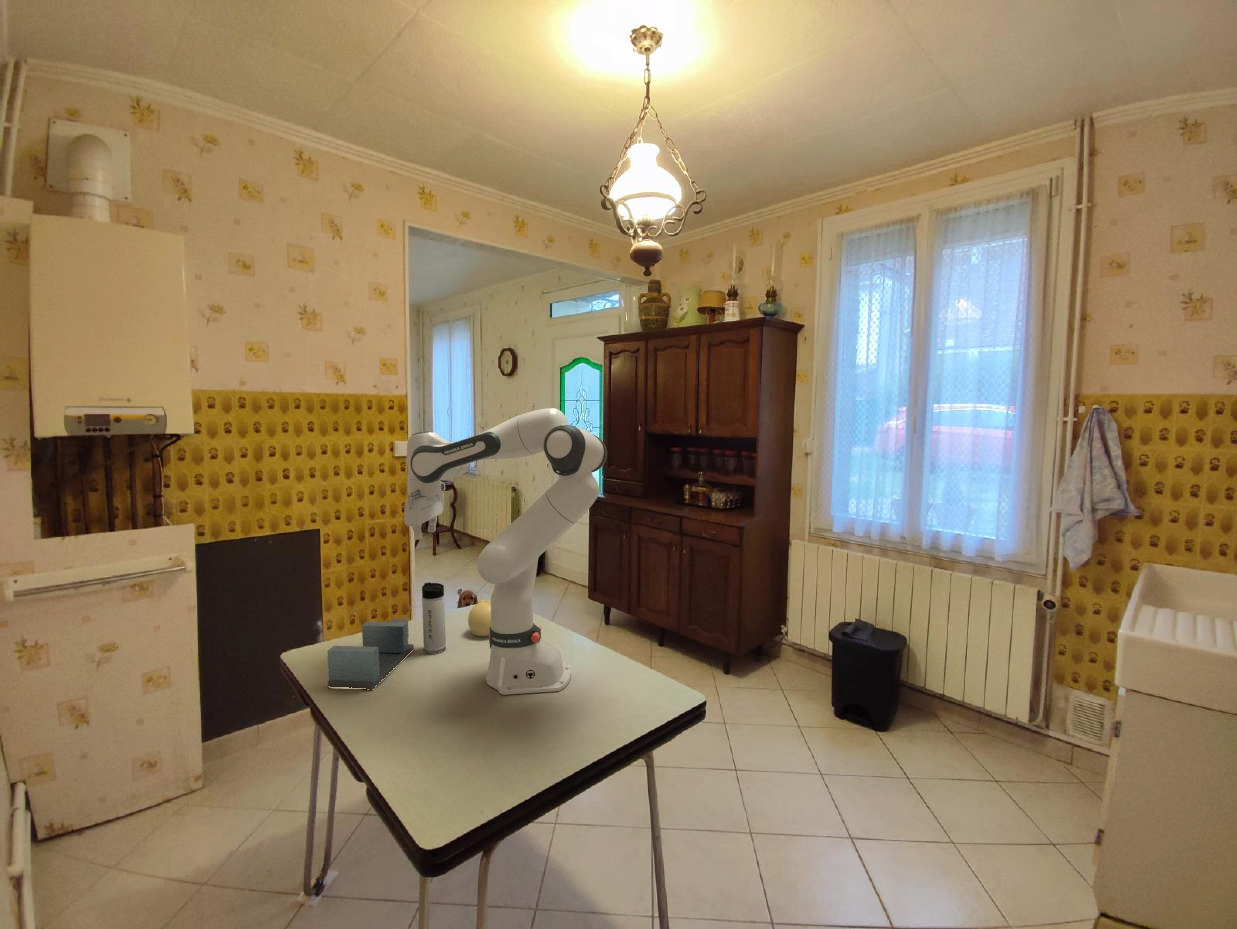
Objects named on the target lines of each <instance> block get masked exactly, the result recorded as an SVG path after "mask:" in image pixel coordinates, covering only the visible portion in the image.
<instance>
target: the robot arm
mask: <svg viewBox="0 0 1237 929" xmlns="http://www.w3.org/2000/svg"><path fill="white" fill-rule="evenodd" d="M541 452H543V453H544V454H545V456H546V458H547V460H548V461H549V463H550V465H551V470H552V471H553V472H554V474H556V475H558V479H557V480H556V481H555V482H554V484H553V485H551V486H550V487H549V488H548V489H547V490H546V491H545V492H544V493H543V494H542V495H541V496H540V497H539V498H538V499H537V500H535V501H534V503H532V504H531V505H530V507H529V508H527V509H526V511H524V512H523V513H522V514H521V515H519V516H518V517H517V518H516V519H514V520H513V521H512V522H511V523H510V524H509V525H508V526H507V527H505V529H502V531H501V532H500V533H499V534H498V535H496V536H495V537H494V538H493V539H492V540H491V541H490V542H488V544H486V546H485V547H484V548H483V549H482V551H480V553H479V555H478V557H477V561H476V568H477V571H478V574H479V575H480V577H481V578H482V579H483V580H484V581H485V582H487V583H489V584H492V585H494V587H493V591H492V594H491V596H490V599H491V601H490V602H491V627H490V631H489V636H488V644H489V648H490V656H489V663H488V664H489V665H488V670H487V673H486V676H485V682H486V683H487V685H488V686H489V687H490V688H493V689H495V690H497V691H498V693H499V694H500V695H503V696H504V695H516V694H517V695H519V694H522V695H523V694H533V693H551V692H560V691H562V690H563V689H565V687H567V686H568V684H569V682H570V680H571V678H572V669H571V667H570V666H569V665H568V664H567V663H563V658H562V654H561V652H560V650H559V649H558V648H557V647H555V646H553V644H551V643H549V642H548V641H546V640H545V639H544V638H542V625H539V626H537V625H536V624H535V623H534V590H535V584H536V579H537V578H536V577H537V572H538V571H537V570H538V563H539V562H538V561H539V558H540V556H541V555H543V553H545V552H546V551H547V550H548V549H549V548H550V547H551V546H553V545H554V544H555V543H556V542H557V541H558V540H559V539H560V538H561V537H562V536H564V534H565V533H566V532H568V530H570V529H571V528H572V527H573V526H574V525H575V524H576V523H577V522H578V521H579V520H580V519H582V517H583V516H584V515H585V514H586V513H587V512H588V510H590V508H591V507H592V506H593V504H594V503H595V501H596V500H597V498H599V495H600V485H599V484H598V480H597V479H596V478H595V477H594V476H593V473H595V472H597V471H599V470H600V469H601V468H602V467H603V466H604V465H605V463H606V461H607V458H608V450H607V447H606V445H605V443H604V442H603V441H602V439H601V438H600V437H599V436H597V435H595V434H592V433H591V432H590V431H588V430H586V429H584V428H580V427H576V426H574V425H571V424H569V422H568V419H567V417H566V415H565V414H564V413H563V412H562V411H561V410H560V409H557V408H556V407H555V408H554V407H548V408H541V409H536V410H531V411H528V412H525V413H521V414H519V415H516V416H514V417H511V418H509V419H507V420H505V421H503V422H501V423H499V424H497V425H495V426H493V427H491V428H489V429H486V430H485V431H482V432H480V433H478V434H476V435H473V436H470V437H467V438H464V439H462V440H458V441H455V442H452V441H449V440H446V439H445V438H443V437H441V436H440V435H439V434H438V433H437V432H435V431H431V430H430V431H421V432H420V431H419V432H416V433H412V434H411V435H409V437H408V440H407V444H406V465H407V467H408V469H407V470H408V474H407V477H406V478H407V495H408V497H407V498H406V500H405V501H404V502H405V503H404V514H403V515H404V517H403V519H404V521H403V522H404V525H405V526H407V527H412V528H411V529H412V532H413V534H414V539H415V540H416V541H418V540H419V541H420V540H422V539H423V537H424V535H423V534H424V532H422V525H423V524H424V523H426V522H428V526H427V532H428V533H435V532H436V525H437V522H438V516H440V515H442V514H443V513H444V508H445V492H444V491H445V490H446V484H445V483H444V482H443V480H448V479H453V478H458V477H461V476H463V475H465V474H466V473H467V472H468V471H469V468H470V467H471V463H475V462H478V461H482V460H485V461H486V460H497V459H498V460H500V459H501V460H503V459H518V458H519V459H520V458H523V457H529V456H532V455H535V454H538V453H541Z"/></svg>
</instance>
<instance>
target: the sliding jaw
mask: <svg viewBox="0 0 1237 929" xmlns="http://www.w3.org/2000/svg"><path fill="white" fill-rule="evenodd" d="M361 630H362V633H361V635H362V638H361V639H362V647H379V652H387V653H404V652H405V651H406V650H407V649H408V644H409V637H410V636H409V618H391V619H390V620H388V621H366V622H365V623H363V624H362V626H361Z"/></svg>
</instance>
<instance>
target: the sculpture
mask: <svg viewBox="0 0 1237 929" xmlns="http://www.w3.org/2000/svg"><path fill="white" fill-rule="evenodd" d="M490 601H491V598H490V599H482V600H479V601H477V603H476V604H475V605H474V606H473V607H471V610H470V611H469V613H468V616H467V617H468V618H467V622H468V627H469V629H470V631H471V632H472V634H474V636H478V637H489V631H490V627H491V602H490Z"/></svg>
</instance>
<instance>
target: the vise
mask: <svg viewBox="0 0 1237 929" xmlns="http://www.w3.org/2000/svg"><path fill="white" fill-rule="evenodd" d="M414 648H415V647H414V643H413V644H412V643H411V644H410V643H408V649H407V650H406V651H405V652H404V653H387V652H379V647H363V645H361V646H359V645H358V646H354V645H350V646H349V645H332V647H330V648H329V649H328V650H327V652H326V653H327V670H328V681H327V687H328V686H330V687H349V688H351V687H352V688H366V689H374V688H375V686H376V685H378V684H379V682H381V680H382V679H384V678H385V677H386V675H388V674H389V672H391V671H392V670H393V668H395V667H396V666H397V665H398V664H399V663H400V662H401V661H402V660H403V659H404V658H405V657H406V656H407V655H408V654H409V653H410V652H411V651H412V650H413V649H414ZM414 650H415V649H414ZM384 680H385V679H384ZM381 683H382V682H381ZM379 685H380V684H379ZM379 685H378V686H379ZM375 689H376V688H375ZM375 689H374V690H375Z"/></svg>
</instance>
